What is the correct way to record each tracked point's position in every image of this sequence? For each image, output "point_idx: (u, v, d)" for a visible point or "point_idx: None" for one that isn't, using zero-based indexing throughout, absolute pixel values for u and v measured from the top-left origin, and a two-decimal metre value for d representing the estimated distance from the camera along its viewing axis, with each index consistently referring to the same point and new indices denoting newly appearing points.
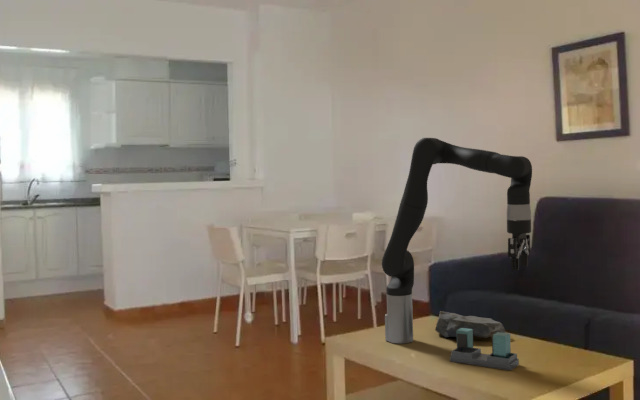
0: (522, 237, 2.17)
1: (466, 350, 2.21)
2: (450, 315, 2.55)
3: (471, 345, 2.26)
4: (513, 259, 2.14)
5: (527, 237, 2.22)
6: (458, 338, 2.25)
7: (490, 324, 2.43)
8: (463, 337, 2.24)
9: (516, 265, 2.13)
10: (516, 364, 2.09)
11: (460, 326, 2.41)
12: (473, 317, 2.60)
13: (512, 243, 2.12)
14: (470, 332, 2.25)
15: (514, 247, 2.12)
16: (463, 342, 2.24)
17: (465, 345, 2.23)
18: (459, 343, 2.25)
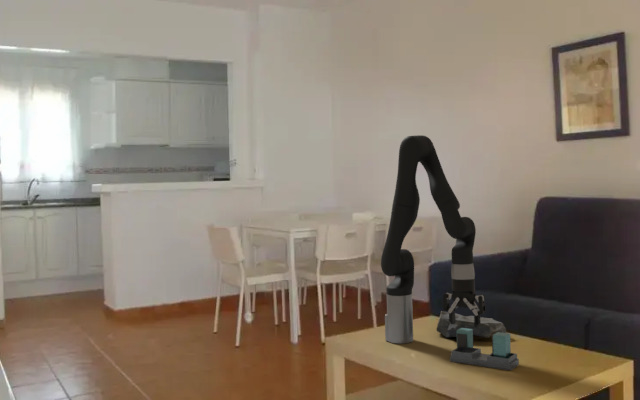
0: None
1: (466, 350, 2.21)
2: None
3: (471, 345, 2.26)
4: (479, 316, 2.22)
5: None
6: (458, 338, 2.25)
7: (491, 324, 2.43)
8: (463, 337, 2.24)
9: None
10: (516, 364, 2.09)
11: (461, 326, 2.41)
12: None
13: (483, 300, 2.21)
14: (470, 332, 2.25)
15: (484, 303, 2.22)
16: (463, 342, 2.24)
17: (465, 345, 2.23)
18: (459, 343, 2.25)
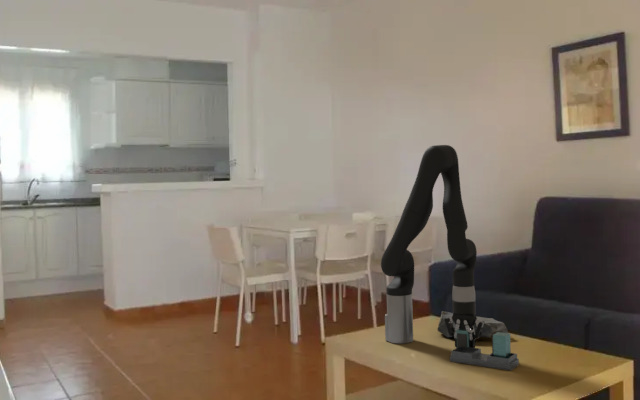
0: None
1: (466, 350, 2.21)
2: (452, 315, 2.55)
3: None
4: (474, 340, 2.24)
5: None
6: (458, 338, 2.25)
7: (492, 324, 2.43)
8: (463, 337, 2.24)
9: None
10: (516, 364, 2.09)
11: None
12: None
13: (482, 326, 2.22)
14: None
15: (482, 329, 2.23)
16: (463, 342, 2.24)
17: (465, 345, 2.23)
18: (459, 343, 2.25)
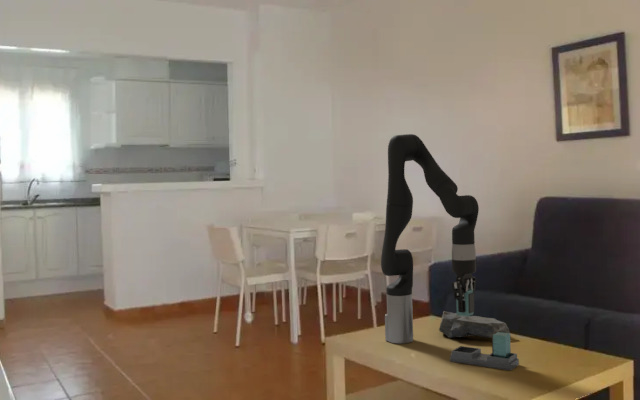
0: None
1: (466, 350, 2.21)
2: (454, 315, 2.54)
3: None
4: None
5: None
6: (470, 299, 2.14)
7: (494, 324, 2.43)
8: (472, 296, 2.16)
9: None
10: (516, 364, 2.09)
11: (464, 326, 2.41)
12: (476, 317, 2.59)
13: None
14: None
15: None
16: (472, 301, 2.16)
17: (473, 304, 2.16)
18: (471, 304, 2.15)
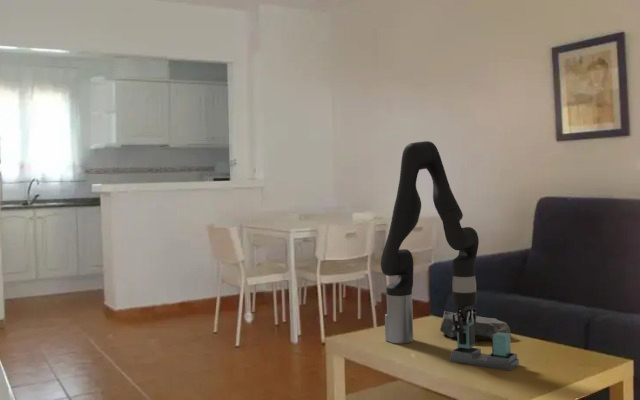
0: None
1: (466, 350, 2.21)
2: None
3: None
4: None
5: None
6: (471, 331, 2.15)
7: (495, 324, 2.43)
8: (473, 328, 2.16)
9: None
10: (516, 364, 2.09)
11: None
12: (477, 317, 2.59)
13: None
14: None
15: None
16: (473, 333, 2.16)
17: (474, 336, 2.17)
18: (471, 336, 2.15)
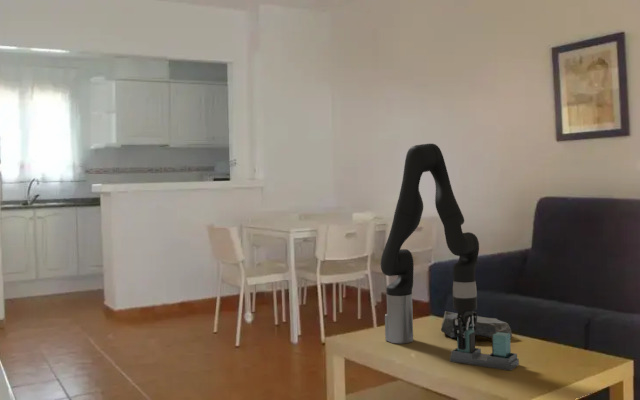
0: None
1: None
2: (455, 315, 2.54)
3: None
4: None
5: None
6: (471, 339, 2.15)
7: (496, 324, 2.43)
8: (473, 336, 2.16)
9: None
10: (516, 364, 2.09)
11: None
12: (478, 317, 2.59)
13: None
14: None
15: None
16: (473, 341, 2.16)
17: (474, 344, 2.17)
18: (472, 344, 2.15)
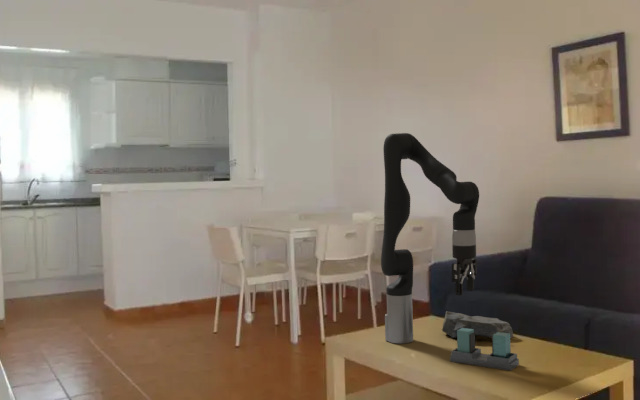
0: None
1: None
2: (457, 315, 2.54)
3: None
4: None
5: None
6: (471, 339, 2.15)
7: (498, 324, 2.43)
8: (473, 336, 2.16)
9: None
10: (516, 364, 2.09)
11: (468, 326, 2.40)
12: (479, 317, 2.59)
13: None
14: None
15: None
16: (473, 341, 2.16)
17: (474, 344, 2.17)
18: (472, 344, 2.15)
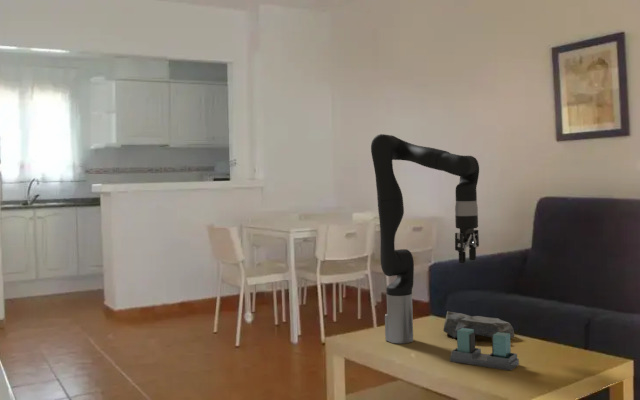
0: None
1: None
2: (458, 315, 2.54)
3: None
4: None
5: None
6: (471, 339, 2.15)
7: (499, 324, 2.42)
8: (473, 336, 2.16)
9: None
10: (516, 364, 2.09)
11: (469, 326, 2.40)
12: (480, 317, 2.59)
13: None
14: None
15: None
16: (473, 341, 2.16)
17: (474, 344, 2.17)
18: (472, 344, 2.15)
